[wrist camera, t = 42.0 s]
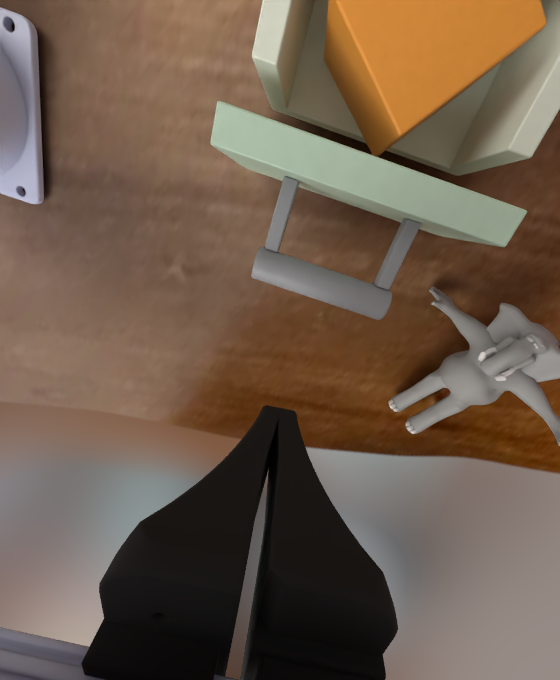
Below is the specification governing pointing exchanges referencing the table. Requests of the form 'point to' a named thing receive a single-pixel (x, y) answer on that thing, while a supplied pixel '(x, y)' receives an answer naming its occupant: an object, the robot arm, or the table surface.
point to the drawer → (376, 173)
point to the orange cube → (417, 55)
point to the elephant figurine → (488, 367)
